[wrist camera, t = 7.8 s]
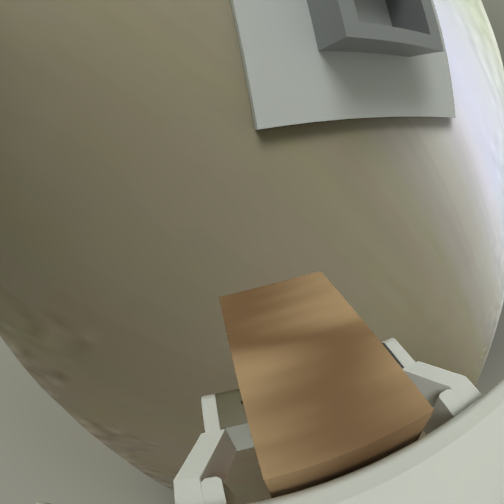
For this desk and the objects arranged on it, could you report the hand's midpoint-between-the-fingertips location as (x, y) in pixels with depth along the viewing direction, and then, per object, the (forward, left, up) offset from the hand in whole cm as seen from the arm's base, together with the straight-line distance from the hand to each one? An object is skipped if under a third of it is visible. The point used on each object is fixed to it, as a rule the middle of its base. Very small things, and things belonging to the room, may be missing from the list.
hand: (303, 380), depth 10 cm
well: (+13, +18, -15) cm, 27 cm away
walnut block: (0, 0, -4) cm, 4 cm away
